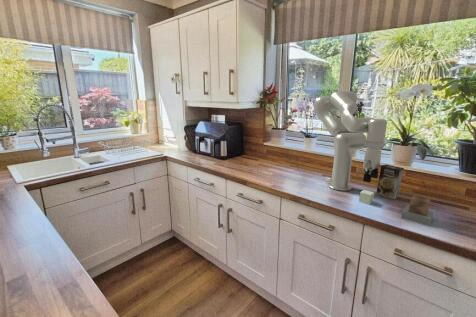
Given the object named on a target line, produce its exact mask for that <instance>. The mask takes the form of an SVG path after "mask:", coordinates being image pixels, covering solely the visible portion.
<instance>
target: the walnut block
mask: <svg viewBox="0 0 476 317" xmlns="http://www.w3.org/2000/svg"><path fill="white" fill-rule="evenodd" d="M409 205H410V206H409V212H413V213H416V214H420V215H423V216H425V215H426V214H427V212H428V210H429V208H430V205H431V198H428V197H424V196H421V195H415V194H414V195H412V197H411V198H410V202H409Z"/></svg>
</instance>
